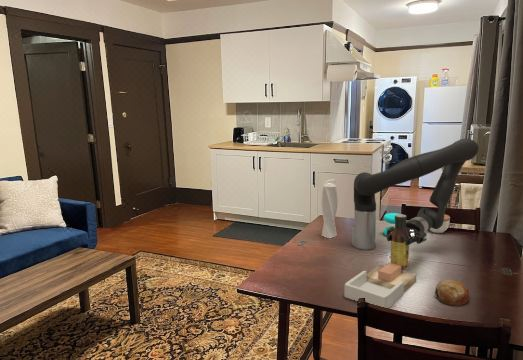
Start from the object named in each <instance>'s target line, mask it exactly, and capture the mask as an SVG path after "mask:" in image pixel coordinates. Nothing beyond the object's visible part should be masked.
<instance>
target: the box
mask: <svg viewBox="0 0 523 360" xmlns="http://www.w3.org/2000/svg"><path fill="white" fill-rule="evenodd" d="M367 274H368V271H367V270H363V271H361V272H360V273H358V274H356V275H355V276H354V277H352V278H351V279H350V280H348V281H346V282H345V284H344V289H343V290H344V293H343V294H344V295H343V297H344V298H346V299H348V300H352V301H354V300H355V302H357V301H358V299H359V298H365V300H366V302H368V303H370V304H374V305H378V306H381V307H385V308H388V309H389V308H390V307H391V306H392V305H393V304H395V303H396V301H398V300H399V299H400V298H401V297H402V296H403V295H404V293H403V290H404V282H402V281H400V282H399V283H397V284H396V285H395V286H394V287H393V288H391V289H390V288H386V287H383V286H380V285H377V284H373V283H370V282H367Z"/></svg>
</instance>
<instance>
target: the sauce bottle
mask: <svg viewBox="0 0 523 360" xmlns="http://www.w3.org/2000/svg"><path fill="white" fill-rule="evenodd" d="M407 218H408V217H407V214H402V213H398V214H397V215H395V224H394V226H395V228H394V230H393V231H392V239H391V241H390V263H393V264H396V265H400V266H401V271H404V270H407V269H408V268H409V263H410V261H409V257H410V245H406V239H407V238H409V234H408V232H407V229H406V222H407Z"/></svg>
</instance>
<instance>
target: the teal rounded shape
mask: <svg viewBox="0 0 523 360" xmlns="http://www.w3.org/2000/svg"><path fill="white" fill-rule="evenodd" d="M397 214H399V213H397V212H389V213H386V214H384V216H383V220H384V221H385V222H386V223H388V224H391V225H389V226H386V227H385V228H384V229H383V232H382V233H383V235H385V236H386V237H387V230H388V229H389V228H390V227H394V228H395V215H397ZM393 225H394V226H393Z"/></svg>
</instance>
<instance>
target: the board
mask: <svg viewBox="0 0 523 360" xmlns="http://www.w3.org/2000/svg"><path fill="white" fill-rule="evenodd" d="M384 266H385V265H381V264H380V265H378V266H377V267H374V269H372V270H371V271H369V272H367V282H370V283H373V284H377V285H380V286H383V287H386V288H390V289H391V288H393V287H394V286H395V285H396V284H397V283H399V282H400V281H402V282H404V290H403V294H404V293H406V292H407V291H408V290H409V289H410V288H411V287H412V286H413V285H415V283H416V282H417V274H414V273H410V272H406V271H404V270H401V274H400V275H399V276H398V277H396V278H395V279H394V280H393V281H391V282H387V281H384V280H381V279H378V271H379V270H380V269H381V268H383V267H384Z"/></svg>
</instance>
